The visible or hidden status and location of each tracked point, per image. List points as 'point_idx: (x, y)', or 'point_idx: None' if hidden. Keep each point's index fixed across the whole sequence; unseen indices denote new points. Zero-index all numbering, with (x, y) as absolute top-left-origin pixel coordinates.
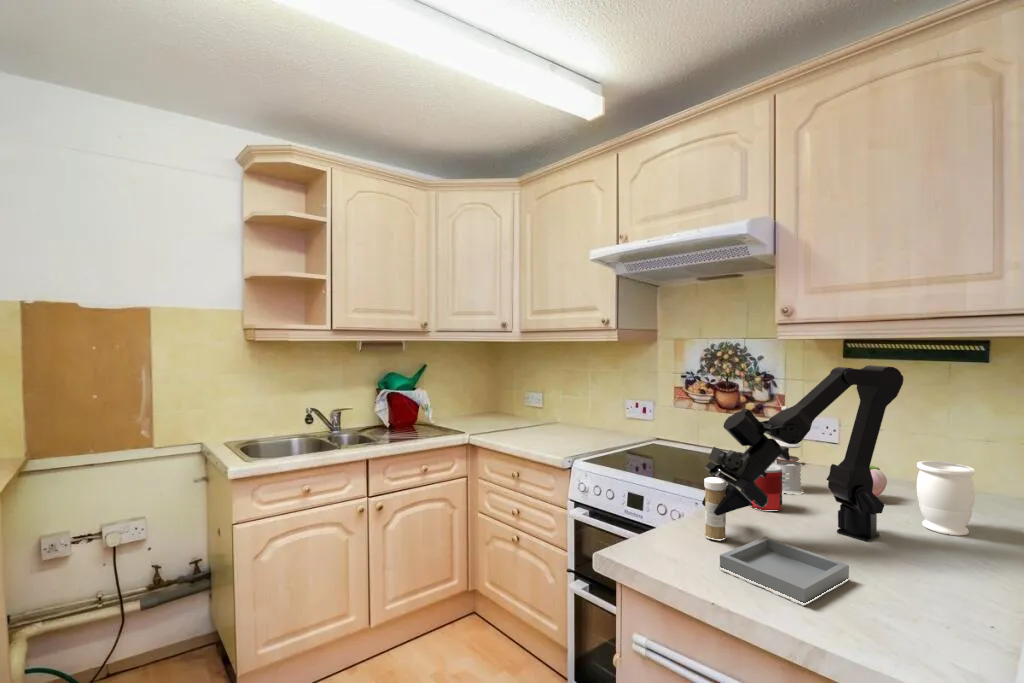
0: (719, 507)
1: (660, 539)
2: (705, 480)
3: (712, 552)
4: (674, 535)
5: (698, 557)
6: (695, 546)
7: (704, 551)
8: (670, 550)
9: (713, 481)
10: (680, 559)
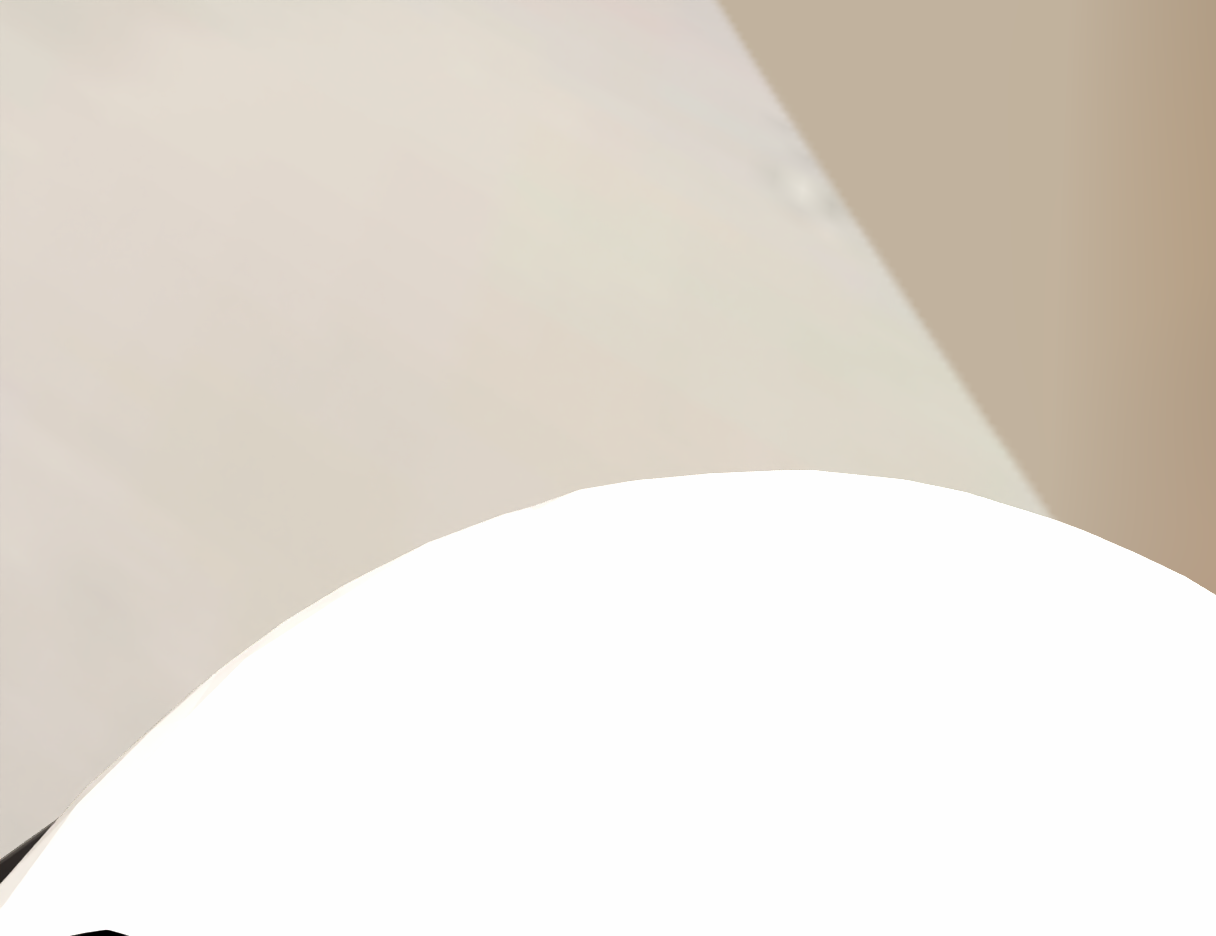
0: (38, 838)
1: (639, 182)
2: (959, 502)
3: (73, 562)
4: (723, 399)
5: (14, 300)
6: (328, 457)
7: (144, 477)
8: (317, 118)
9: (304, 898)
10: (54, 86)
